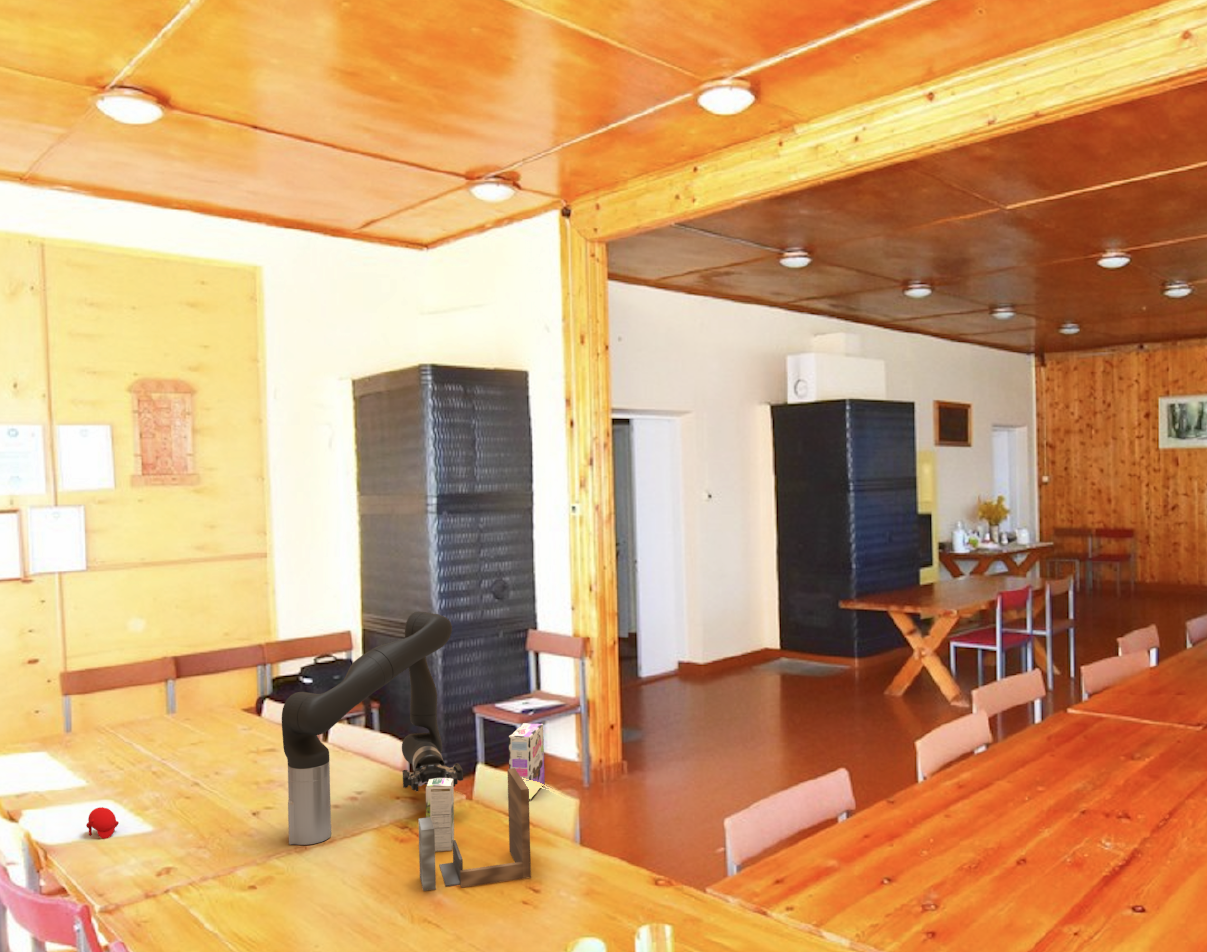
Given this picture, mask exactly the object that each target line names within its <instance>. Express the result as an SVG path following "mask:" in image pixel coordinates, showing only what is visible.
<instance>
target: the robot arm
mask: <svg viewBox="0 0 1207 952" xmlns="http://www.w3.org/2000/svg"><path fill="white" fill-rule="evenodd" d="M452 631H453V625H452V623H451V621H450V620H449V618H447V616H444V615H441V614H438V613H431V612H426V611H415V612H413V613H411V614H410V615H409V616H408V618H407V620H406V623H405V627H404V638H401V639H397V640H394V641H390V642H387V643H383V644H380V645H378V646H376V647H373V648H371V649H369V650H368V651H367V652H365V653H364V654H363V655H361V656H360V657H358V658H357V659H356V660H354V661H353V662H352V663H351V665H350V667H349V669H348V671H346V673H345V674H346V675H345V677H344V679H343V680H341V682H339V683H338V684H337V685H335V686H334V687H333V688H330V689H329V690H327V691H324V692H322V693H313V692H306V691H299V692H294V693H292V694H291V695H289V697H287V699H285V702H284V704H283V707H282V712H281V731H282V733H281V734H282V744H283V746H282V747H283V753H284V755H285V756H286V760H287V783H288V784H287V786H288V787H287V790H288V791H287V792H288V798H287V799H288V800H287V801H288V802H287V817H288V820H287V821H288V822H287V823H288V824H287V825H288V845H297V846H298V845H301V846H304V845H305V846H306V845H307V846H308V845H313V844H317V843H318V844H319V843H322V842H325V841H327V840H328V839H330V838H331V836H332V819H331V818H332V812H331V811H332V808H331V775H330V774H331V773H330V772H331V771H330V769H331V768H330V750H329V749H328V747H327V746H326V745H325V744H323V742H322V741H321V740H320V738H319V735H323V734H325V733H326V732H328V731H329V730H330V729H331V728H333V727H334V726H336V725H337V723H338V722H339V721H341V720H342V719H343V718H344V717H345V716H346V715H347V714H348V713H349V712H350V711H351V710H352V709H354V708H355V707H356V706H358V705H360V704H361V703H362V702H364V701H365V700H366V699H368V698H369V696H372V694H374V693H375V692H376V691H378V690H380V689H382V688H383V687H384V686H386V685H387V684H388V683H390V682H391V681H392V680H394V678H396V677H397V676H398V675H400V674H401V673H403V672H405V671H406V670H407V669H408V673H409V679H410V680H409V682H410V703H409V705H410V707H409V721H410V724H412V725H413V726H415V727H419V728H425V729H426V730H428V732H421V733H420V732H419V733H409V734H408V735H406V736H405V737H404V739H403V740H402V743H401V752H402V756H403V757H404V759H405V760H406V761H407V762H408V763H409V764H411V765H412V769H413V772H410V771H408V770H407V769H403V770H402V788H404V789H407V788H409V786H410V788H411V789H412V790H413V791H415V792H419V787H422V786H423V785H426V786H427V784H428V781H429V779H435V778H451V779H454V780H453V787H454V788H455V787H456V785H458V781H460V782H462V781H464V773H463V772H464V769H463V768H462V766H461V765H460V763H458V762H456V763H454V764H453V766H451V767H449V766H447V765H446V763H445V761H444V759H443V755H442V752H443V743H442V738H441V735H440V731H439V726H438V719H437V717H438V716H437V715H438V713H437V712H438V691H437V687H436V684H435V681H434V678H433V676H432V673H431V671H430V668H429V665H428V663H427V662H428V661H427V657H428V656H429V655H431V654H434V653H435V652H437V651H438V650H440V649H442V648H443V647H444V646H445V645H446V644H447V643H448V641H449V640H450V638H451V635H452Z"/></svg>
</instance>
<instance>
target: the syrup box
mask: <svg viewBox="0 0 1207 952" xmlns="http://www.w3.org/2000/svg"><path fill="white" fill-rule="evenodd" d="M453 780H454V779H451V778H435V779H429V781H428V784H427V785H426V787H425V818H428V817H431V820H432V823H433V826H434V833H435V853H436V852H437V853H438V852H447V851H450V852H451V851H453V840H455V818H454V817H455V816H454V815H455V810H454V809H455V802H454V801H455V800H454V799H455V798H454V793H455V791H454V789H455V787H453Z"/></svg>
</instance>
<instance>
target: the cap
mask: <svg viewBox="0 0 1207 952" xmlns="http://www.w3.org/2000/svg"><path fill="white" fill-rule="evenodd" d="M87 821H88V822H87V823H86V828H87V829H88V836H92V832H93V830H92V829H94V830H96V833H97V836H98V837H99V838H100V839H102V840H106V839H109V838H110V837H111V836H112V835H113V834H114V833H115V829H116V828H117V827H118V825H119V824H120V823H119V821H117V819H116V815H115V813H114V812H113V811H112V810H110V808H107V807H103V806H102V807H101V806H100V807H97V808H94V809H93V810H92V811H91V812H89V815H88V819H87Z"/></svg>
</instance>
